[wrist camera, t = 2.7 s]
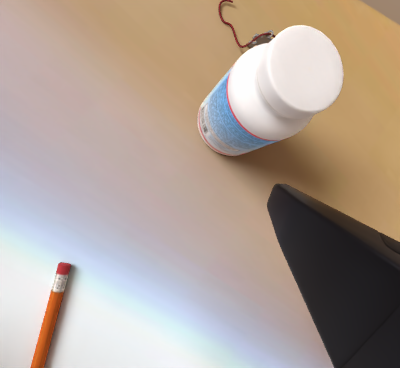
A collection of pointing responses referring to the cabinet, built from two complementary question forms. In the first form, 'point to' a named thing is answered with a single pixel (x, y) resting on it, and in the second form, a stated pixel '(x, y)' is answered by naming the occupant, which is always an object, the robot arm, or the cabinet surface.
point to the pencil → (51, 315)
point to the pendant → (259, 38)
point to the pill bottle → (272, 92)
